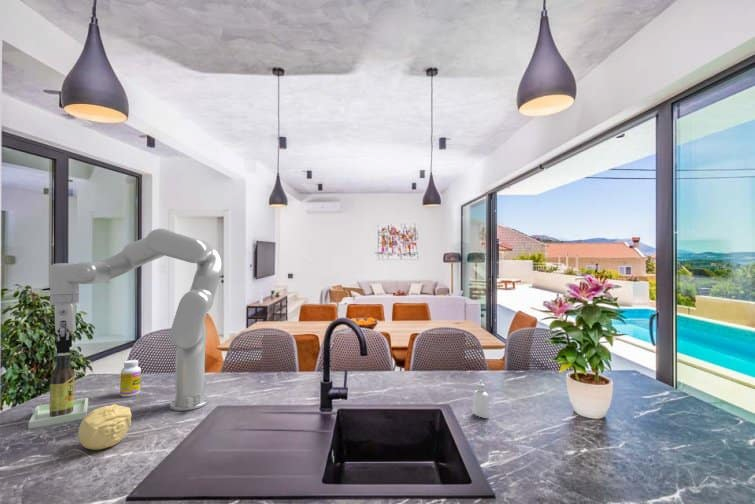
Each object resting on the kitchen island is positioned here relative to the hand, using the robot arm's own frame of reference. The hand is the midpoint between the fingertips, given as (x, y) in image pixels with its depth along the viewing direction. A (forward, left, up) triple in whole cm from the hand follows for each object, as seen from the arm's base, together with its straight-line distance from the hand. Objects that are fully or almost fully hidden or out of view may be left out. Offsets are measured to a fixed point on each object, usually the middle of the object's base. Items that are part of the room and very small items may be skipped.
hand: (64, 349), depth 127 cm
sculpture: (-33, -12, -22) cm, 41 cm away
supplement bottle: (+11, -20, -22) cm, 32 cm away
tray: (0, 0, -22) cm, 22 cm away
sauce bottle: (0, 0, -22) cm, 22 cm away
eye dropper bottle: (-82, -116, -22) cm, 143 cm away
